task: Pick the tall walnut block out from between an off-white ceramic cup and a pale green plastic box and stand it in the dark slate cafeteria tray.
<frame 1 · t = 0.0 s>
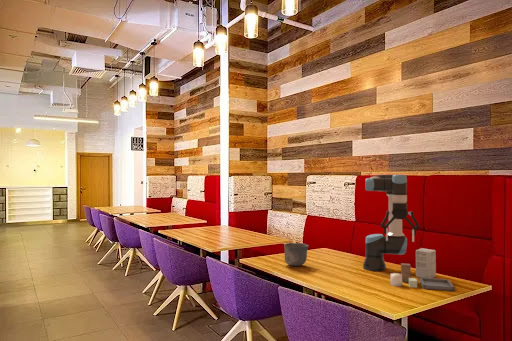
hand: (400, 240, 206), 28 cm above the table, fingers open, 13 cm apart
tray: (436, 285, 216), on the table
ceramic cup: (396, 284, 219), on the table
supplement box: (425, 276, 236), on the table
bowl: (296, 266, 265), on the table
green box: (412, 286, 216), on the table
walnut block: (405, 280, 226), on the table
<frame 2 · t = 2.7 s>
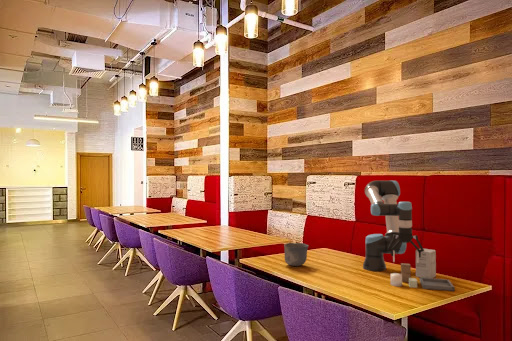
hand: (405, 262, 226), 11 cm above the table, fingers open, 13 cm apart
nothing on the table moved.
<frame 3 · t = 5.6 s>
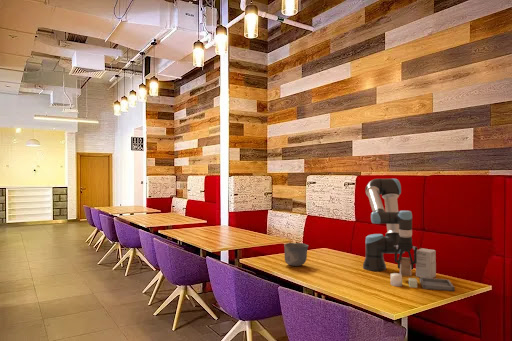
hand: (405, 274, 227), 4 cm above the table, fingers closed on walnut block, 5 cm apart
walnut block: (405, 274, 227), point 4 cm above the table, touching gripper
everything else where it was.
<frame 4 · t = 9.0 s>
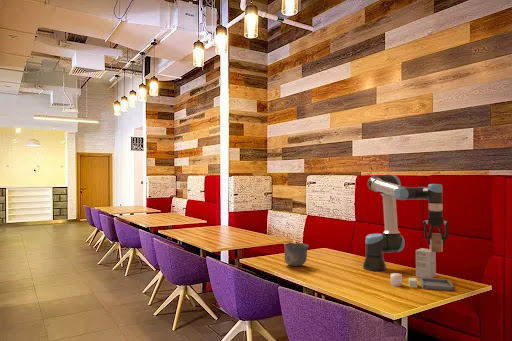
hand: (436, 250, 216), 20 cm above the table, fingers closed on walnut block, 5 cm apart
walnut block: (436, 251, 216), point 20 cm above the table, touching gripper
everything else where it was.
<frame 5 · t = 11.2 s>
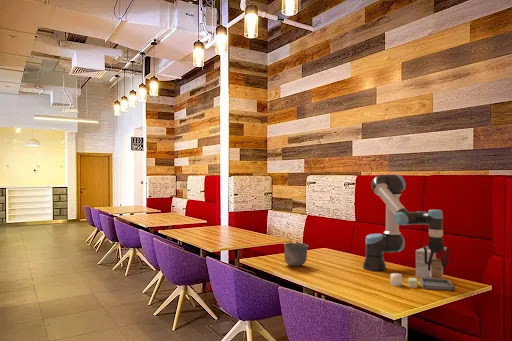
hand: (436, 276, 216), 5 cm above the table, fingers closed on walnut block, 5 cm apart
walnut block: (436, 277, 216), point 5 cm above the table, touching gripper
everything else where it was.
when the fingers open (2 cm above the table, at t = 12.8 s): walnut block drops 1 cm, resting on tray.
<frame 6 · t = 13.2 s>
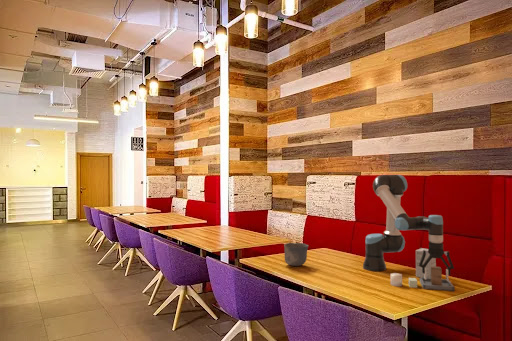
hand: (436, 279, 216), 3 cm above the table, fingers open, 11 cm apart
walnut block: (436, 284, 216), point 1 cm above the table, touching tray
everything else where it was.
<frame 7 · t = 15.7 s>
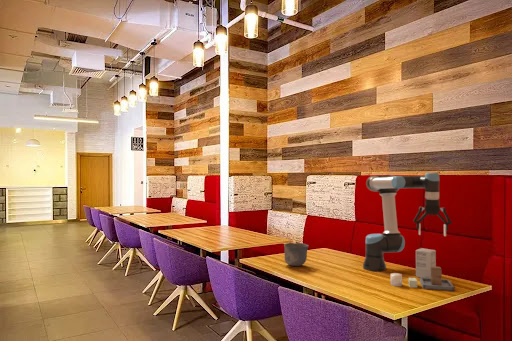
hand: (432, 235, 218), 29 cm above the table, fingers open, 13 cm apart
nothing on the table moved.
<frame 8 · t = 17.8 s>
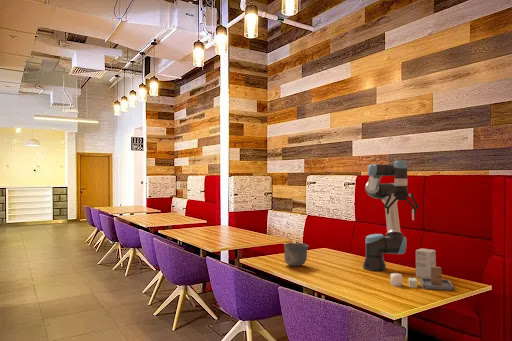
hand: (401, 219, 231), 37 cm above the table, fingers open, 13 cm apart
nothing on the table moved.
at the end: walnut block inside the target area on the tray (0.1 cm from its centre), point 0.6 cm above the tray's base; walnut block tilted 0°; the gripper is holding nothing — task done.
